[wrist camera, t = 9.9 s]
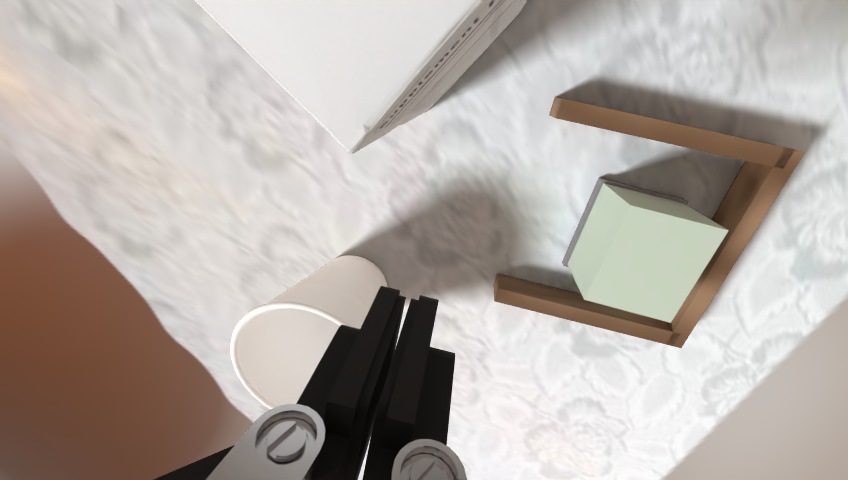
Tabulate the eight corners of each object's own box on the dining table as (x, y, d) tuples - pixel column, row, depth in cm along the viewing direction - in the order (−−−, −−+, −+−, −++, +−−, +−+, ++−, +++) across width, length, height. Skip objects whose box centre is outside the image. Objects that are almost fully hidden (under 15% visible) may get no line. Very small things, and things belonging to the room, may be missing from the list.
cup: (429, 272, 32) (406, 359, 22) (377, 345, 36) (337, 447, 26) (330, 212, 31) (258, 273, 21) (288, 294, 35) (210, 378, 25)
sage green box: (598, 177, 27) (628, 201, 21) (682, 198, 27) (734, 228, 21) (561, 261, 30) (579, 301, 24) (637, 281, 30) (672, 326, 24)
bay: (555, 96, 25) (562, 98, 23) (774, 145, 24) (805, 151, 22) (493, 285, 31) (494, 301, 29) (666, 328, 31) (681, 348, 28)
